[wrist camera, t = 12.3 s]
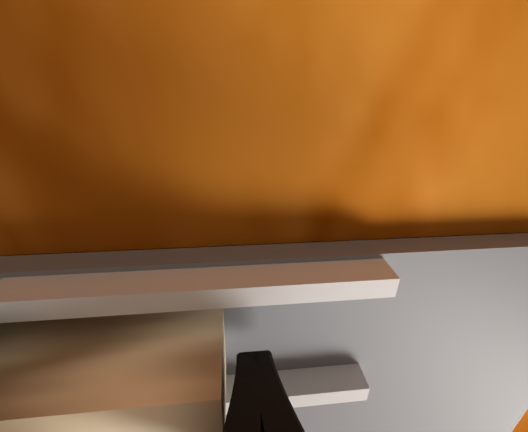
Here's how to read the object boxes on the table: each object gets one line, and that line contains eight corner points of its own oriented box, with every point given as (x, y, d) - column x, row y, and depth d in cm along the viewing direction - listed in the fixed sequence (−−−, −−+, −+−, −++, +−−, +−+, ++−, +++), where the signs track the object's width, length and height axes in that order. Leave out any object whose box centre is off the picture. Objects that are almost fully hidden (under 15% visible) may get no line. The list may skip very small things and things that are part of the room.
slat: (223, 307, 11) (221, 399, 8) (226, 361, 13) (225, 457, 9) (-137, 330, 10) (-303, 449, 7) (-91, 387, 11) (-212, 508, 8)
